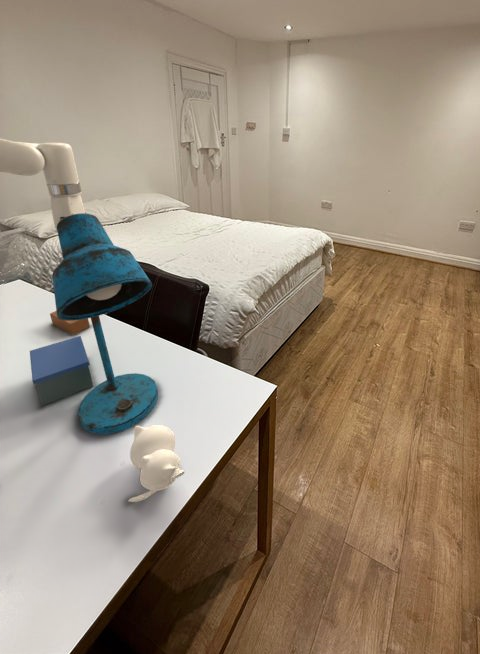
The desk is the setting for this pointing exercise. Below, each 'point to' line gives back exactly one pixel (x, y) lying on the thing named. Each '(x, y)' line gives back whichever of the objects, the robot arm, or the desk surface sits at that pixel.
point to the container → (60, 369)
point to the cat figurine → (155, 458)
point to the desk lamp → (97, 299)
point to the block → (69, 324)
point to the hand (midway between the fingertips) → (78, 246)
